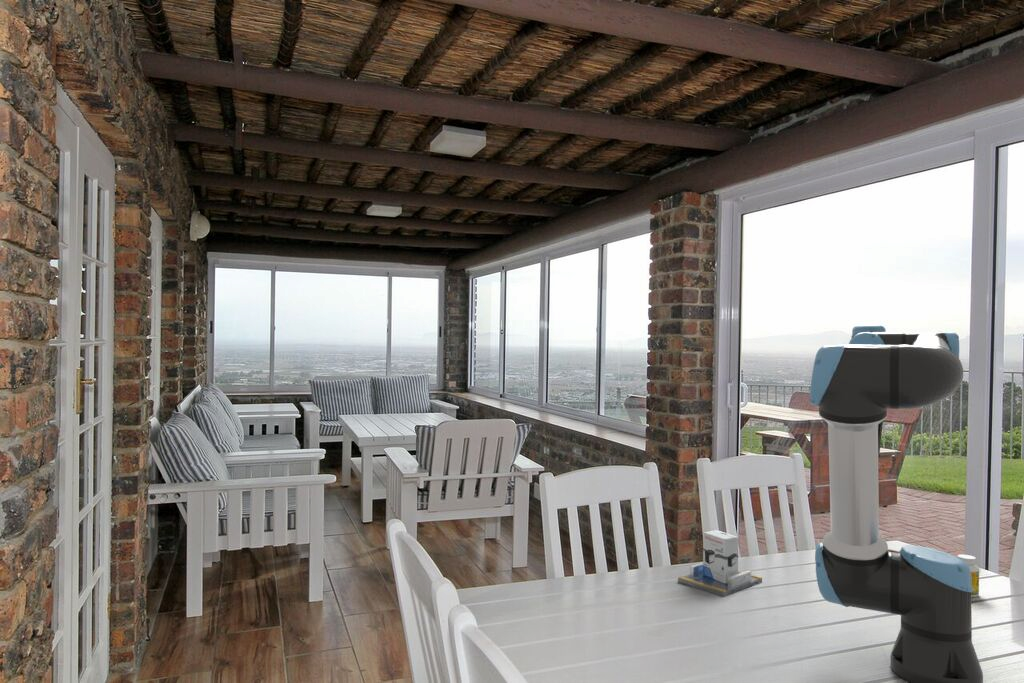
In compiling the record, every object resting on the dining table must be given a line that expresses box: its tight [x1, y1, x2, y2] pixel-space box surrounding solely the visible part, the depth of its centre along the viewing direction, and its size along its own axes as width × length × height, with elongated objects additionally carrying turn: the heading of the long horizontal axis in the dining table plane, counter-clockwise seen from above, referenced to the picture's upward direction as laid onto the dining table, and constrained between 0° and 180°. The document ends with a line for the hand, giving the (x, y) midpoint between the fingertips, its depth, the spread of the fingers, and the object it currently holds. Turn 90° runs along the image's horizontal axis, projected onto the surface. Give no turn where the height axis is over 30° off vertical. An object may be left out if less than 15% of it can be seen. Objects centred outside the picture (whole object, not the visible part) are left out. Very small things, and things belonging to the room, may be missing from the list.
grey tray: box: [677, 561, 763, 597], centre depth 187 cm, size 18×14×4 cm
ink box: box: [702, 529, 739, 584], centre depth 187 cm, size 8×5×12 cm, turn 27°
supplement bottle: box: [956, 554, 980, 598], centre depth 179 cm, size 5×5×10 cm
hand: (868, 483), depth 172 cm, fingers closed
